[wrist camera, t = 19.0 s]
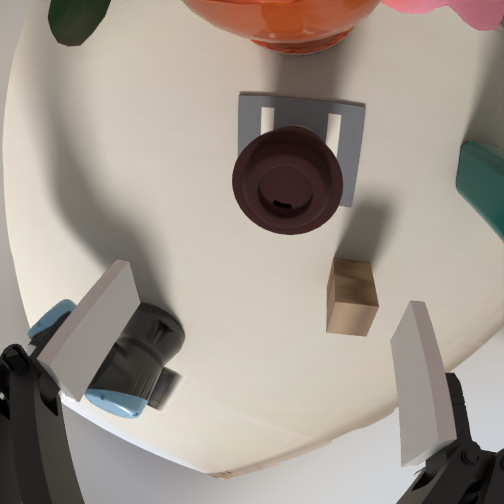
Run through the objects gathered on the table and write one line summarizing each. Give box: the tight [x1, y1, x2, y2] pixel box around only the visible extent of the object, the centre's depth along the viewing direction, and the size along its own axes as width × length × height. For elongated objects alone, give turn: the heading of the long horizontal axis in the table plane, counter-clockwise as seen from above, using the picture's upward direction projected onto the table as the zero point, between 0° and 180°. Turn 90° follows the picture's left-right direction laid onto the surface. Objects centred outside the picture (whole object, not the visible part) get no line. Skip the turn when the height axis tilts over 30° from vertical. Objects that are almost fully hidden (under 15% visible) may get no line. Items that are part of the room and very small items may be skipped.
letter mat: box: [238, 95, 366, 207], centre depth 36 cm, size 16×14×1 cm
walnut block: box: [326, 258, 379, 336], centre depth 41 cm, size 6×6×10 cm
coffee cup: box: [232, 125, 343, 235], centre depth 30 cm, size 10×10×15 cm
